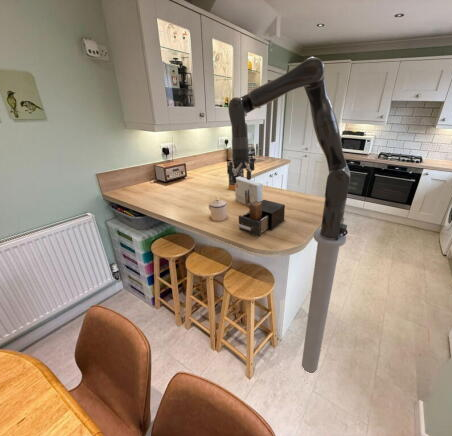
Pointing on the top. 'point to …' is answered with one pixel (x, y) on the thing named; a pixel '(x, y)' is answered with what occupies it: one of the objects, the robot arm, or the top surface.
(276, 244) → the top surface
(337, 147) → the robot arm
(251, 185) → the skincare box
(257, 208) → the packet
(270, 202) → the dark brown cabinet
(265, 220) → the drawer
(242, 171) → the whiskey bottle
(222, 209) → the teacup with lid
